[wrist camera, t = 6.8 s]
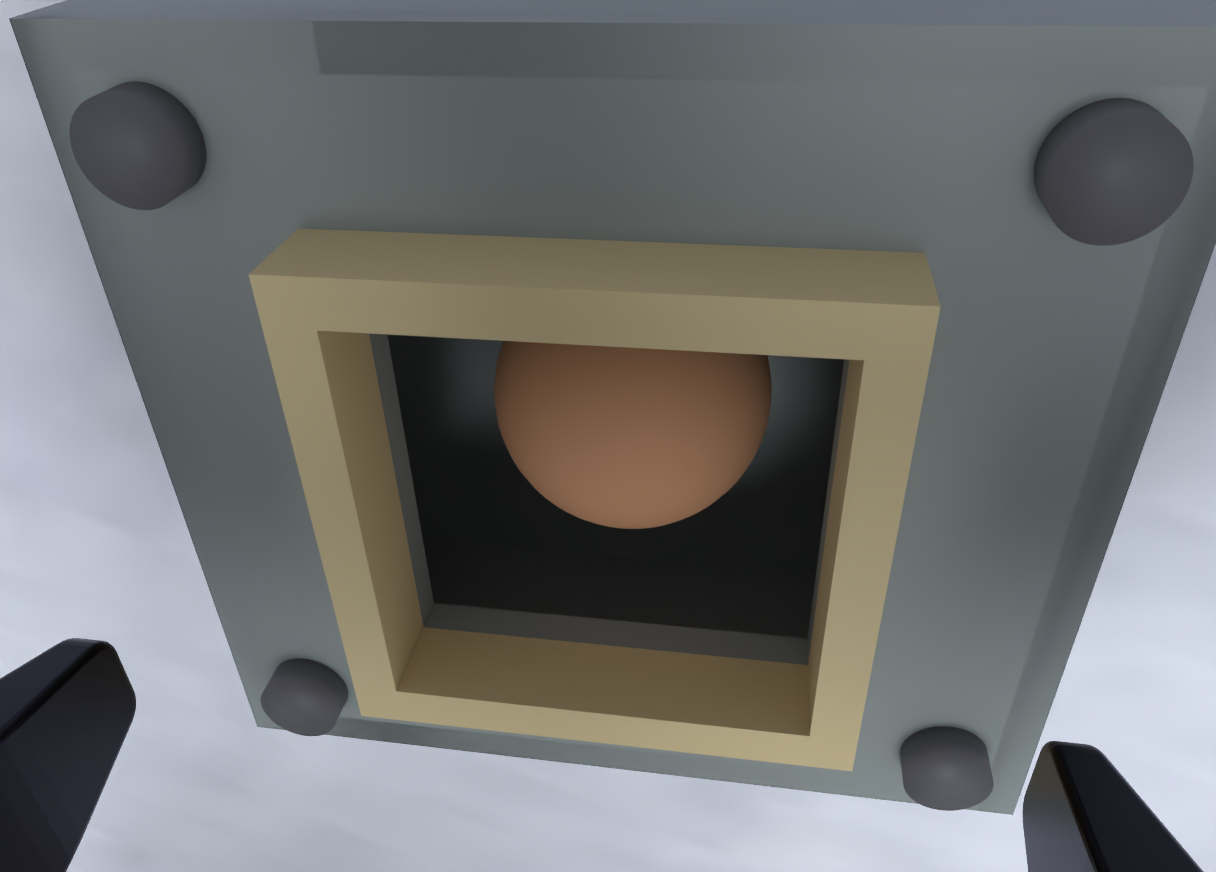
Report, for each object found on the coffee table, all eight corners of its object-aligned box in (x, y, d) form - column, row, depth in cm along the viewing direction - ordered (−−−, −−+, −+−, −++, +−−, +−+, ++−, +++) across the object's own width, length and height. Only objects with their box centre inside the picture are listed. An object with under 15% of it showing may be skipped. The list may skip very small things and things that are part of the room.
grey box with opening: (365, 533, 20) (222, 788, 15) (238, -54, 14) (-78, 45, 9) (963, 584, 18) (1029, 890, 13) (1123, -58, 12) (1360, 62, 7)
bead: (535, 422, 17) (478, 575, 14) (517, 204, 15) (444, 326, 11) (764, 436, 16) (759, 598, 13) (781, 212, 14) (782, 343, 11)
